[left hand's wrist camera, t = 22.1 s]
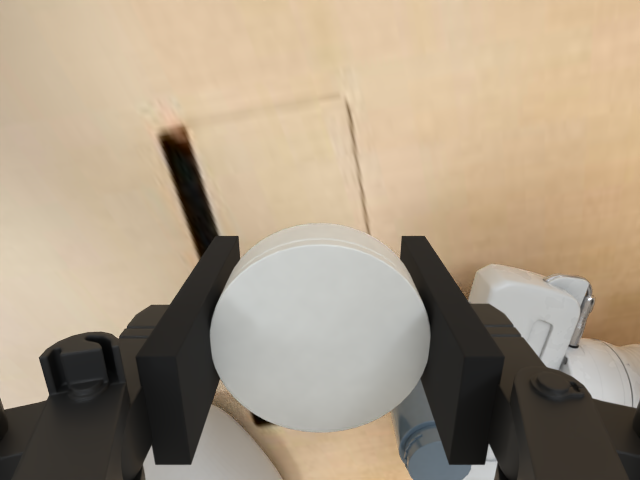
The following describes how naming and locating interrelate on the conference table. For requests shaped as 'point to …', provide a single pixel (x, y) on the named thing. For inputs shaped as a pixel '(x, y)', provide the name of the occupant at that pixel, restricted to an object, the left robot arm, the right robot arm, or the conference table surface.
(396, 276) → the lid
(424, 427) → the blue-grey bottle
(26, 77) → the conference table surface
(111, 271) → the conference table surface
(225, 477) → the projector
